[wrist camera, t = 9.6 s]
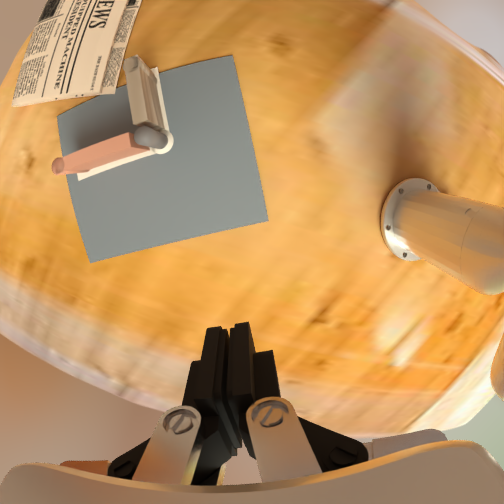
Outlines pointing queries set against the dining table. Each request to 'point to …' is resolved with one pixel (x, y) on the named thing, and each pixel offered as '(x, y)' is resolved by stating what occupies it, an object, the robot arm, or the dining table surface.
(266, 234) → the dining table surface
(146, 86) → the fence fixed
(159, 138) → the fence panel
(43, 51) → the newspaper
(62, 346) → the dining table surface
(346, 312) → the dining table surface
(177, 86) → the card
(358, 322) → the dining table surface
